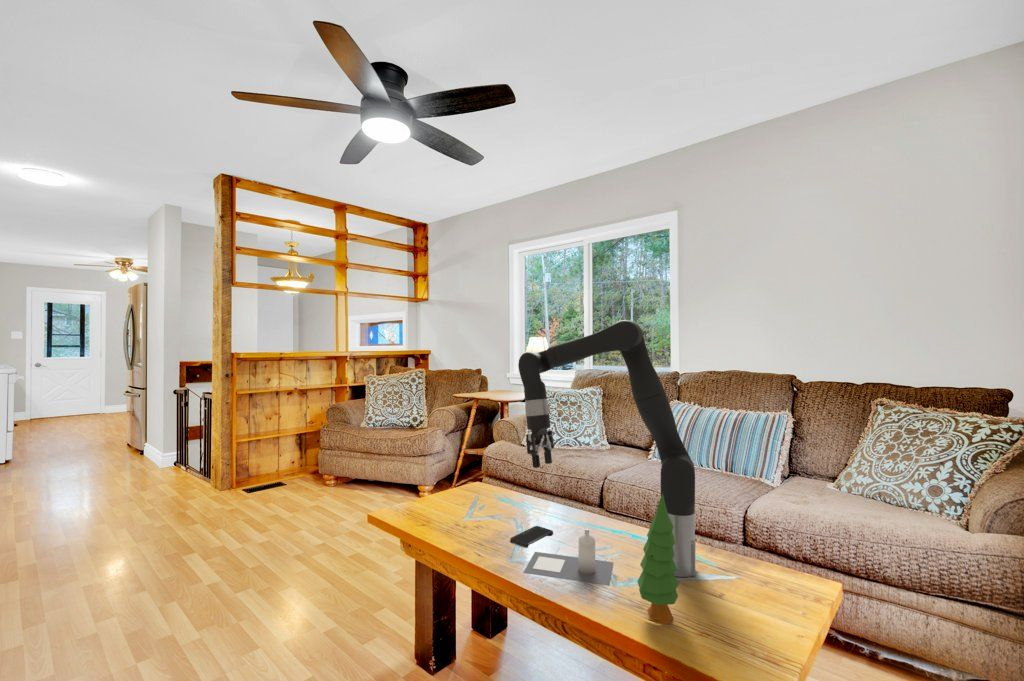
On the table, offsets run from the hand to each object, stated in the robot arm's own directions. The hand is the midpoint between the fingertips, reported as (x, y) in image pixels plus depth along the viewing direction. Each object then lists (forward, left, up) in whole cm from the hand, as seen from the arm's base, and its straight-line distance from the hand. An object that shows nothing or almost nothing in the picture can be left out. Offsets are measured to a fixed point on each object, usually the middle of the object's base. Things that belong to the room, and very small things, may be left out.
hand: (542, 465), depth 149 cm
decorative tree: (-34, +27, -27) cm, 51 cm away
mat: (-10, +10, -27) cm, 30 cm away
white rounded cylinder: (-15, +10, -26) cm, 32 cm away
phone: (+6, -9, -27) cm, 29 cm away
